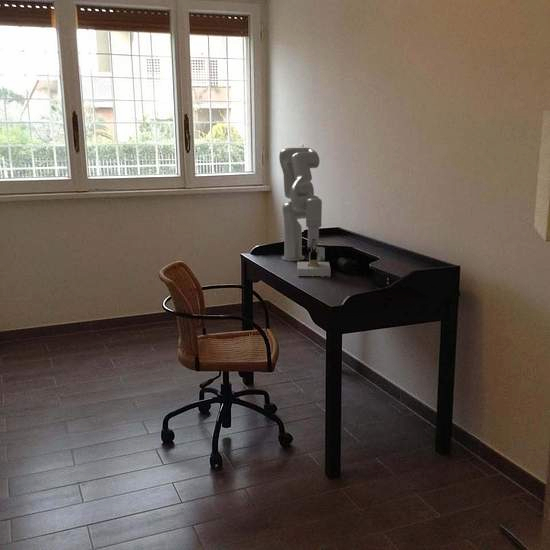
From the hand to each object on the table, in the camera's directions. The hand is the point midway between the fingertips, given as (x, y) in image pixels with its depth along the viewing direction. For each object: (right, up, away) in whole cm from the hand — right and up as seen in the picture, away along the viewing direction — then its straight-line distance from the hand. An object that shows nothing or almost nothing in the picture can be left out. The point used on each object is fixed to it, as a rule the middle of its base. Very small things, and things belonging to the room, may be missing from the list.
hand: (313, 257), depth 314 cm
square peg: (0, -8, +1) cm, 8 cm away
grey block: (+4, -5, +15) cm, 16 cm away
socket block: (0, -8, +1) cm, 8 cm away
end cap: (+17, -8, +3) cm, 19 cm away
